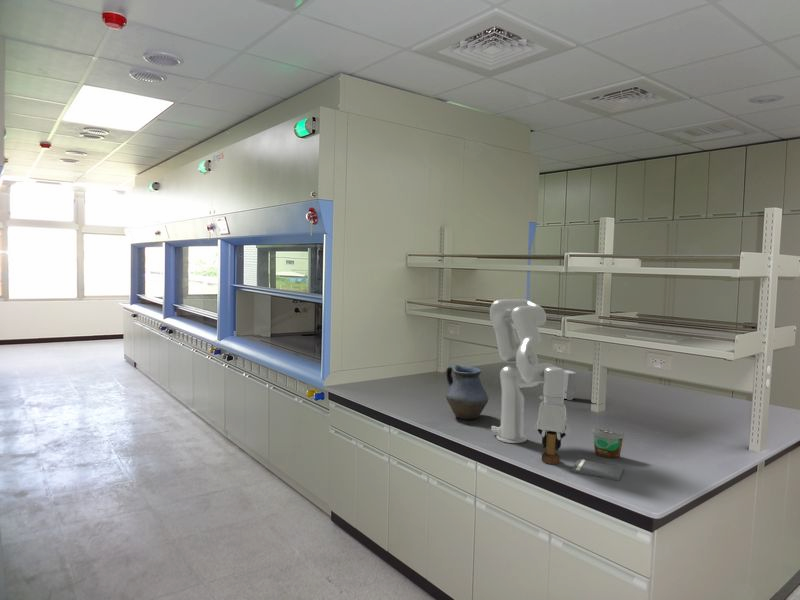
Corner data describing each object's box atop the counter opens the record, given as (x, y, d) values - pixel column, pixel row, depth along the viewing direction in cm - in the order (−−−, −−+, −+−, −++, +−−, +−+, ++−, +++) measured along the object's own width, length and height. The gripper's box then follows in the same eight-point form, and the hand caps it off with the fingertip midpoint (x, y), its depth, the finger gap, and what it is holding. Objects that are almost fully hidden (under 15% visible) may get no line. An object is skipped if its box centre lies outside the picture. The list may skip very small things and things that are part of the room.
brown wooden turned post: (558, 465, 200) (560, 417, 199) (540, 462, 202) (542, 415, 201) (560, 459, 206) (562, 413, 205) (542, 457, 208) (544, 411, 207)
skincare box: (556, 397, 308) (557, 370, 307) (566, 396, 311) (567, 369, 310) (566, 401, 300) (567, 372, 299) (576, 400, 303) (577, 372, 302)
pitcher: (476, 425, 248) (478, 372, 247) (434, 417, 260) (436, 366, 258) (493, 416, 265) (495, 365, 264) (454, 408, 277) (455, 360, 276)
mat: (571, 471, 194) (571, 468, 194) (578, 461, 205) (578, 458, 205) (619, 480, 186) (619, 477, 186) (623, 469, 197) (623, 467, 197)
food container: (587, 454, 212) (588, 429, 212) (591, 450, 217) (592, 426, 217) (620, 461, 205) (621, 436, 205) (623, 457, 210) (625, 432, 210)
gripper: (528, 399, 203) (526, 446, 204) (574, 405, 195) (571, 455, 196) (533, 395, 210) (532, 441, 211) (578, 401, 202) (576, 449, 203)
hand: (551, 447), depth 204 cm, fingers closed on brown wooden turned post, 4 cm apart
